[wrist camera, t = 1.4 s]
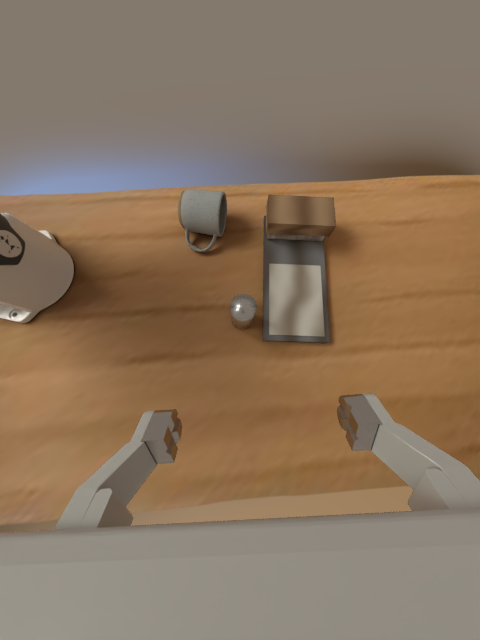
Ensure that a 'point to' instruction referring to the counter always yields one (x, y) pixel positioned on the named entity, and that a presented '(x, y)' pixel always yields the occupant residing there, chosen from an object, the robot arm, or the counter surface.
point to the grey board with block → (296, 268)
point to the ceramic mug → (202, 214)
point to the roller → (242, 311)
